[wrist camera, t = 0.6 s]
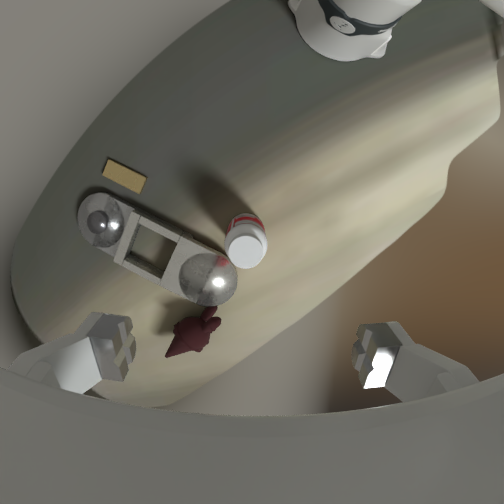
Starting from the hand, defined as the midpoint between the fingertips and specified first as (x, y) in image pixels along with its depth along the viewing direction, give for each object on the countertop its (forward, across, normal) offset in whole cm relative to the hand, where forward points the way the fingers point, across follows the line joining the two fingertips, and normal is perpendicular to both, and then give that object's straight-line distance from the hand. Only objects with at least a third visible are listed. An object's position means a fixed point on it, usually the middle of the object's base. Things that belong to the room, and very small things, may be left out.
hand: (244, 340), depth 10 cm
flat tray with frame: (+40, +16, +10) cm, 44 cm away
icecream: (+40, +9, +26) cm, 49 cm away
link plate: (+40, +21, -3) cm, 45 cm away
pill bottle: (+40, 0, +7) cm, 41 cm away
